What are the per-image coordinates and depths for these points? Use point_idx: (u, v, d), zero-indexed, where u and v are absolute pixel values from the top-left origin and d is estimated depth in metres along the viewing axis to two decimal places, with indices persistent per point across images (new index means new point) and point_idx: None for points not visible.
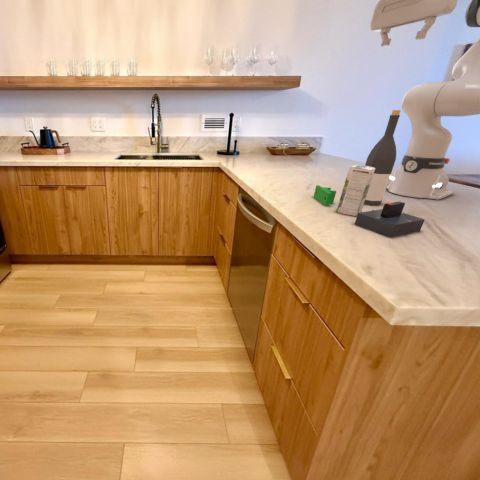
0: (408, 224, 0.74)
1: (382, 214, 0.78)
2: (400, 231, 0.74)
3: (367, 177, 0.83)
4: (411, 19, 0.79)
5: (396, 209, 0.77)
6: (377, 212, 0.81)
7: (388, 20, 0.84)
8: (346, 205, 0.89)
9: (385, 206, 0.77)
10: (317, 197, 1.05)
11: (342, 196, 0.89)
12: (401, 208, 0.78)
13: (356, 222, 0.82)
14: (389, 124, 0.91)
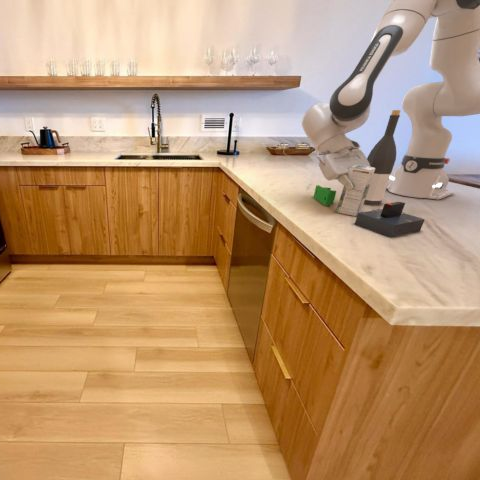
0: (408, 224, 0.74)
1: (382, 214, 0.78)
2: (400, 231, 0.74)
3: (367, 177, 0.83)
4: None
5: (396, 209, 0.77)
6: (377, 212, 0.81)
7: None
8: (346, 205, 0.89)
9: (385, 206, 0.77)
10: (317, 197, 1.05)
11: (342, 196, 0.89)
12: (401, 208, 0.78)
13: (356, 222, 0.82)
14: (389, 124, 0.91)
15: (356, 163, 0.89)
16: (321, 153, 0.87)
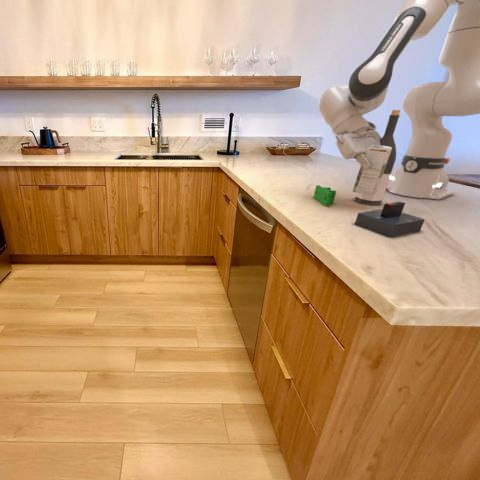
0: (408, 224, 0.74)
1: (382, 214, 0.78)
2: (400, 231, 0.74)
3: (384, 155, 0.85)
4: None
5: (396, 209, 0.77)
6: (377, 212, 0.81)
7: None
8: (363, 184, 0.91)
9: (385, 206, 0.77)
10: (317, 197, 1.05)
11: (359, 175, 0.91)
12: (401, 208, 0.78)
13: (356, 222, 0.82)
14: (389, 124, 0.91)
15: (373, 144, 0.91)
16: (339, 133, 0.89)
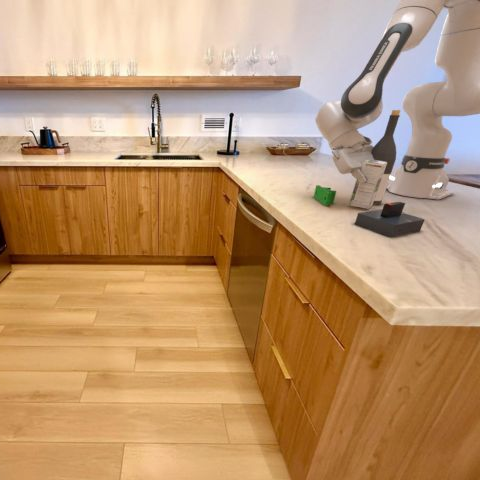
0: (408, 224, 0.74)
1: (382, 214, 0.78)
2: (400, 231, 0.74)
3: (380, 171, 0.87)
4: None
5: (396, 209, 0.77)
6: (377, 212, 0.81)
7: None
8: (358, 198, 0.93)
9: (385, 206, 0.77)
10: (317, 197, 1.05)
11: (355, 189, 0.93)
12: (401, 208, 0.78)
13: (356, 222, 0.82)
14: (389, 124, 0.91)
15: (368, 158, 0.93)
16: (335, 148, 0.91)
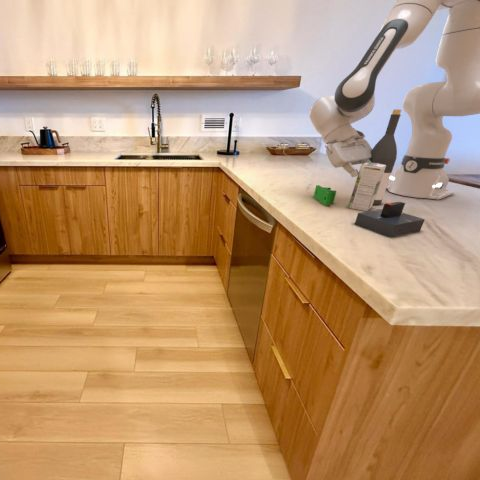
0: (408, 224, 0.74)
1: (382, 214, 0.78)
2: (400, 231, 0.74)
3: (378, 174, 0.88)
4: None
5: (396, 209, 0.77)
6: (377, 212, 0.81)
7: None
8: (357, 200, 0.93)
9: (385, 206, 0.77)
10: (317, 197, 1.05)
11: (354, 192, 0.93)
12: (401, 208, 0.78)
13: (356, 222, 0.82)
14: (390, 123, 0.92)
15: (361, 152, 0.95)
16: (328, 142, 0.92)
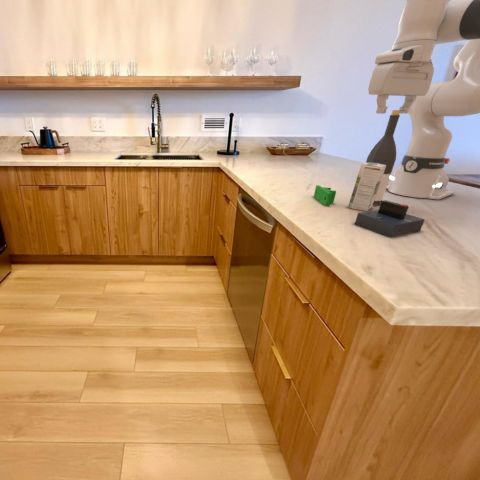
0: (408, 224, 0.74)
1: (402, 217, 0.76)
2: (400, 231, 0.74)
3: (378, 174, 0.88)
4: (409, 94, 0.79)
5: None
6: (377, 212, 0.81)
7: (395, 88, 0.76)
8: (357, 200, 0.93)
9: (405, 209, 0.75)
10: (317, 197, 1.05)
11: (354, 192, 0.93)
12: None
13: (356, 222, 0.82)
14: (389, 124, 0.91)
15: None
16: None
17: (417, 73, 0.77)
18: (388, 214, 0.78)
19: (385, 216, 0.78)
